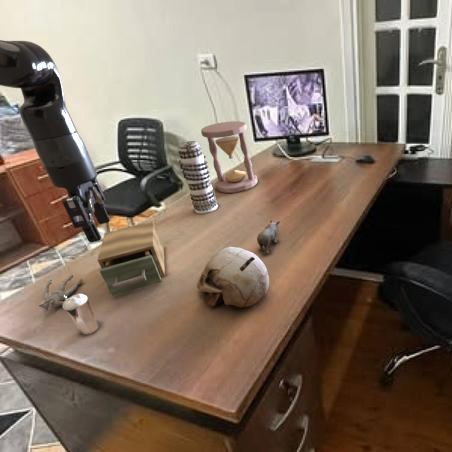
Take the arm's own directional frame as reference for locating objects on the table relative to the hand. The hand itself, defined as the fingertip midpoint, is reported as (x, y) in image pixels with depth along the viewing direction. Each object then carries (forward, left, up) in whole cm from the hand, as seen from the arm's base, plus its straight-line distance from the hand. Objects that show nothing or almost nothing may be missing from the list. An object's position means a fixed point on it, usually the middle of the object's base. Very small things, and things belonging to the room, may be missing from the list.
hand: (100, 231), depth 75 cm
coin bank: (+22, -8, -21) cm, 32 cm away
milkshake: (-10, -3, -21) cm, 24 cm away
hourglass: (+37, +66, -21) cm, 79 cm away
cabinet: (0, +18, -21) cm, 28 cm away
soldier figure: (-17, +13, -21) cm, 30 cm away
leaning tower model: (+22, +49, -21) cm, 58 cm away
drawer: (+1, +11, -20) cm, 23 cm away
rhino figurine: (+37, +11, -21) cm, 44 cm away
